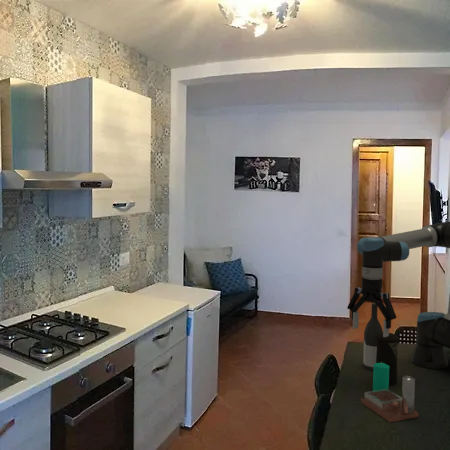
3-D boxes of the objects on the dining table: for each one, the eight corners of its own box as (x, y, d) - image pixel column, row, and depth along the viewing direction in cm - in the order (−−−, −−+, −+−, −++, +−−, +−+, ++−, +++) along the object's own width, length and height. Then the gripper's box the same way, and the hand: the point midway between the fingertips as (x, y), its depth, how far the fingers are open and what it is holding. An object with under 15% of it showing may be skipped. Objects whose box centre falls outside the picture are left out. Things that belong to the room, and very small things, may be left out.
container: (398, 387, 191) (400, 338, 189) (375, 385, 193) (376, 336, 191) (395, 378, 199) (397, 331, 198) (373, 376, 201) (374, 330, 199)
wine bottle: (381, 371, 206) (384, 303, 204) (362, 369, 209) (364, 301, 207) (382, 365, 214) (384, 299, 212) (363, 363, 217) (365, 297, 214)
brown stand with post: (387, 397, 181) (389, 362, 180) (418, 416, 166) (419, 379, 165) (361, 402, 177) (362, 366, 176) (389, 422, 162) (391, 383, 161)
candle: (380, 396, 183) (381, 365, 182) (369, 390, 188) (370, 360, 187) (392, 393, 185) (393, 362, 184) (380, 387, 191) (381, 357, 190)
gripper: (339, 274, 191) (338, 326, 193) (396, 284, 172) (394, 342, 174) (350, 272, 196) (349, 323, 198) (407, 281, 177) (405, 338, 178)
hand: (370, 332), depth 186 cm, fingers open, 13 cm apart
